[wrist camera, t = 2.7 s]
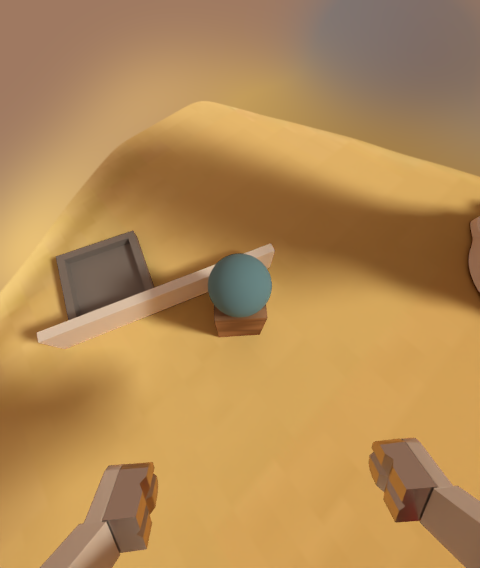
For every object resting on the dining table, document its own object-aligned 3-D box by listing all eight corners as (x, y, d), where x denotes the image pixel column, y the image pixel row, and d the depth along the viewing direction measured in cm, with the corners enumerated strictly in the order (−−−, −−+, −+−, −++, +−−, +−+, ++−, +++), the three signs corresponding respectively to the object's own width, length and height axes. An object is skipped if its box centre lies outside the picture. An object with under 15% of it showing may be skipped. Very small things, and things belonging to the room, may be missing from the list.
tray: (136, 236, 32) (133, 230, 31) (158, 298, 29) (154, 294, 28) (62, 261, 31) (55, 256, 29) (77, 330, 28) (70, 327, 26)
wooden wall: (266, 260, 31) (270, 243, 28) (270, 267, 31) (275, 250, 27) (63, 340, 27) (36, 332, 23) (65, 349, 27) (38, 342, 23)
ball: (252, 262, 24) (257, 232, 19) (277, 310, 22) (288, 289, 17) (202, 282, 23) (194, 255, 18) (223, 333, 21) (220, 317, 17)
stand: (255, 296, 30) (262, 270, 23) (259, 334, 28) (267, 317, 21) (217, 298, 29) (212, 272, 23) (219, 337, 28) (214, 321, 21)
